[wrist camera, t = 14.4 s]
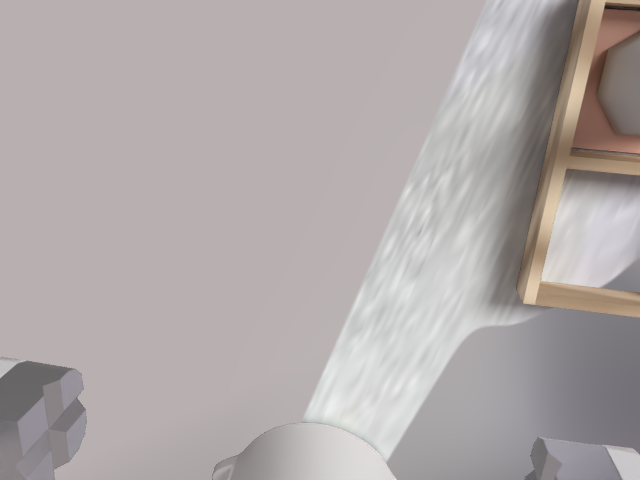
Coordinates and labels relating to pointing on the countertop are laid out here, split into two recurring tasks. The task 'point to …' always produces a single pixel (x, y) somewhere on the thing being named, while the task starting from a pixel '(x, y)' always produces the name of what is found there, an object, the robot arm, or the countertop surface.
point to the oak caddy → (581, 154)
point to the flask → (622, 87)
